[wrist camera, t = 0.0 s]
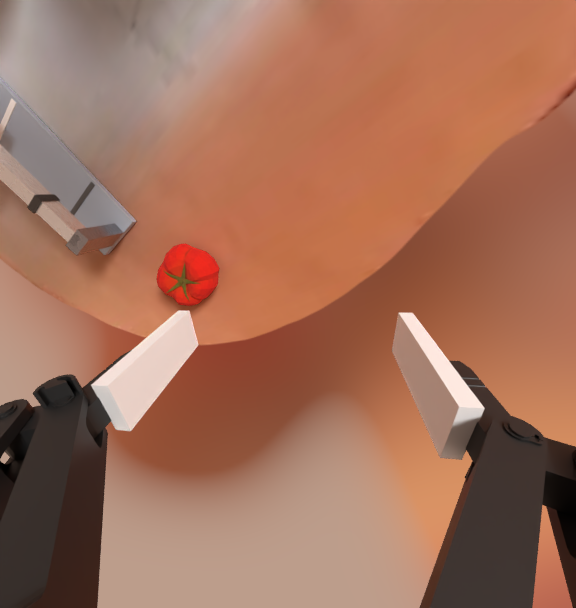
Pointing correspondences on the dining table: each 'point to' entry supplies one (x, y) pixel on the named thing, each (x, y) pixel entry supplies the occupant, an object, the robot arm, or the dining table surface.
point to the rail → (54, 209)
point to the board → (57, 166)
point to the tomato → (188, 274)
